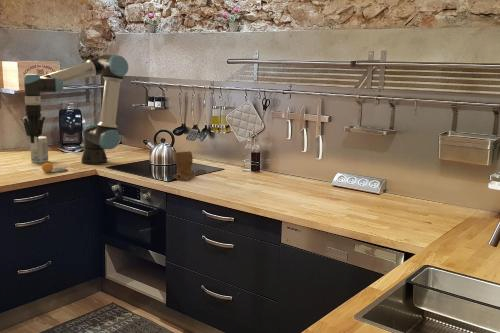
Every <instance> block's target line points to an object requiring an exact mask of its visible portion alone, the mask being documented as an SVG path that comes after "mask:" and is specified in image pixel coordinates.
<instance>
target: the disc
mask: <svg viewBox="0 0 500 333" xmlns="http://www.w3.org/2000/svg"><path fill="white" fill-rule="evenodd" d="M68 171H69V169H67V168H64V167H53V170H52V171H51V172H49V173H50V174H58V173H59V174H61V173H65V172H68ZM49 173H48V174H49Z"/></svg>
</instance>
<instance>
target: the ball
mask: <svg viewBox="0 0 500 333" xmlns="http://www.w3.org/2000/svg"><path fill="white" fill-rule="evenodd" d="M53 168H54V166H53V164H52V163H51V162H44V163H43V164H42V166H41V169H42V172H44V173H46V174H47V173H48V174H49V172H51V171H52V170H53Z"/></svg>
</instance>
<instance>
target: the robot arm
mask: <svg viewBox="0 0 500 333" xmlns="http://www.w3.org/2000/svg"><path fill="white" fill-rule="evenodd" d="M128 72H129V63H128V61H127V59H126V58H125V57H123V56H122V55H119V54H102V55H99V56H97V57H94V58H90V59H88V60H87V61H86V62H83V63H80V64H77V65H74V66H71V67H68V68H65V69H61V70H57V71H54V72H51V73H48V74H45V75H44V74H43V75H42V76H41V75H40V74H38V73H25V75H24V78H23V80H24V81H23V85H24V86H23V87H24V88H23V89H24V103H25V105H24V107H25V108H24V110H25V111H24V112H25V116H24V117H22V118H21V121H22V123H23V125H24V126H23V127H24V130H25V135H26V136H27V137H30V138H29V143H30V142H31V143H32V149H38V146H37V143H38V137H39V136H42V132H43V127H44V122H45V119H46V117H45V116H43V115H42V113H41V112H42V105H41V103H42V102H41V99H42V98H41V97H42V96H41V93H55V94H56V93H62V92H63V91H64V84H67V83H71V82H73V81H77V80H80V79H83V78H86V77H89V76H92V77H95V76H99V75H100V76H101V75H102V79H103V80H104V85H103V86H104V87H103V96H102V104H101V113H100V120H99V122H98V123H97V124H85V125H84V126H83V153H82V156H81V159H80V162H81V163H82V164H83V165H104V164H107V163H108V157H107V154H106V151H105V150H112V149H115V148H117V146H118V145H119V143H120V141H121V135H120V134H119V132H118V128H119V127H118V125H117V124H116V122H117V121H116V120H117V113H118V104H119V96H120V86H121V83H122V82H123V81H124V77H125V76H126V74H127V73H128Z"/></svg>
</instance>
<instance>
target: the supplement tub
mask: <svg viewBox="0 0 500 333" xmlns="http://www.w3.org/2000/svg"><path fill="white" fill-rule="evenodd" d="M29 144H30V145H29V146H30V159H31V161H30V162H32V163H35V164H41V163H43V164H44V163H48V161H49V146H48V144H49V143H48V137H47V136H43V135H39V137H38V143H37V146H38V149H32V143H31V142H30V141H29Z"/></svg>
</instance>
